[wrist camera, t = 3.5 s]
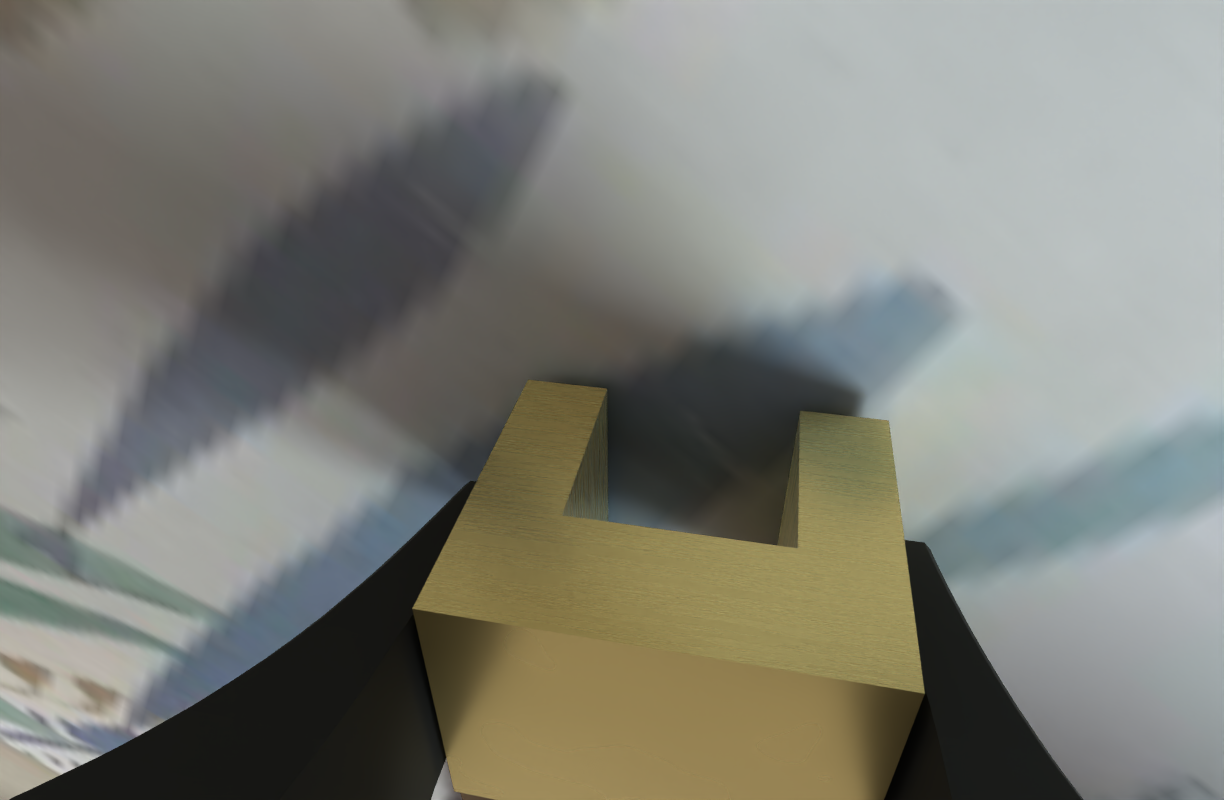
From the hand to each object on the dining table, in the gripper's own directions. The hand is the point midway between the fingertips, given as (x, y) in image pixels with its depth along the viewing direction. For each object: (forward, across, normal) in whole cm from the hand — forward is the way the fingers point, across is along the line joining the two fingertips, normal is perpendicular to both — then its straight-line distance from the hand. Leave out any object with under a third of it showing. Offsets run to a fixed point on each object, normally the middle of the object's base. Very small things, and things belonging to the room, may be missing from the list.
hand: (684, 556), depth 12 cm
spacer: (+1, 0, 0) cm, 1 cm away
